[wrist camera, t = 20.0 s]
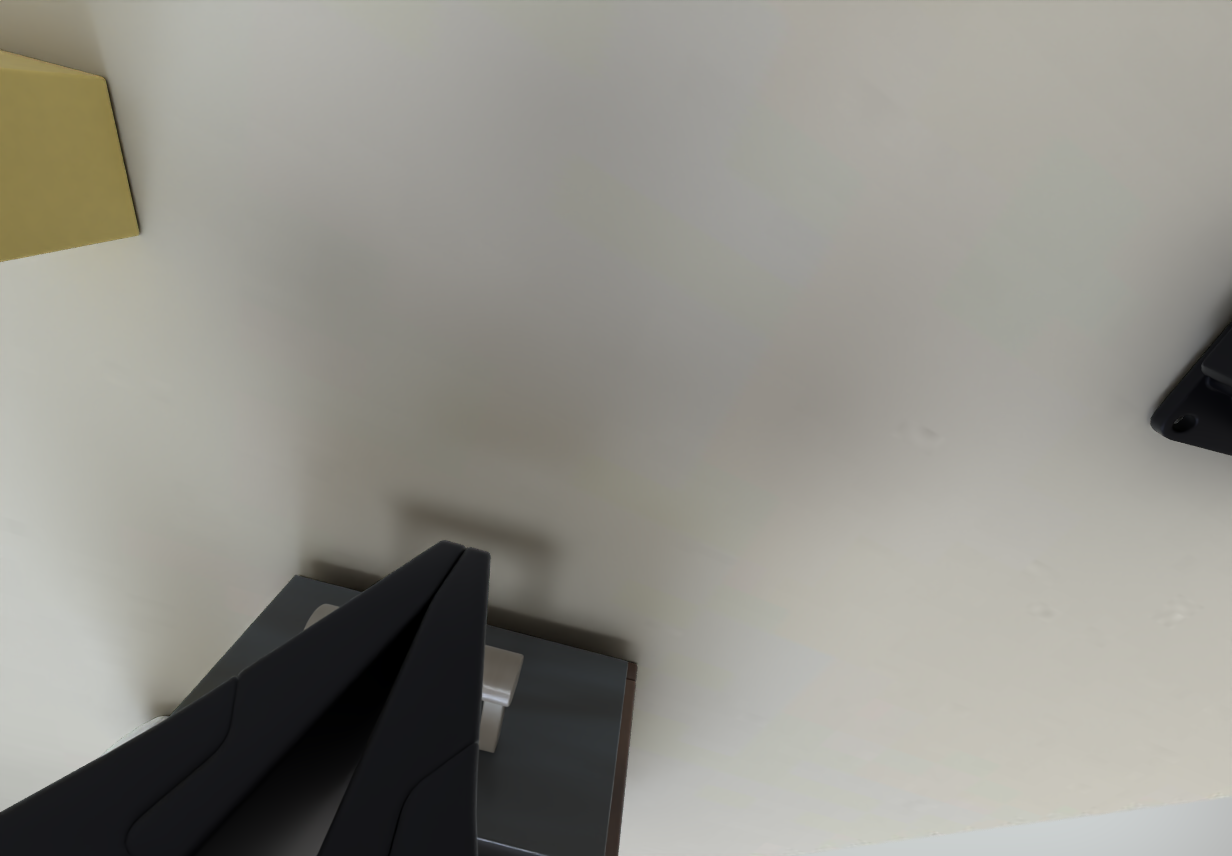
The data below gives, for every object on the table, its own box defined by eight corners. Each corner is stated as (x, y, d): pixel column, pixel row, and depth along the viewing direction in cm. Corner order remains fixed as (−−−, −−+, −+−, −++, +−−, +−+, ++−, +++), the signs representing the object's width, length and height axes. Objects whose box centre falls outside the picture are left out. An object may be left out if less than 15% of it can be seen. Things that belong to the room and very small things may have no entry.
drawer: (285, 490, 19) (97, 656, 13) (656, 586, 19) (639, 796, 13) (315, 747, 27) (210, 919, 21) (571, 813, 27) (538, 1003, 21)
